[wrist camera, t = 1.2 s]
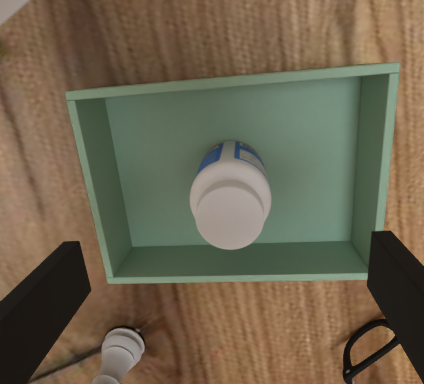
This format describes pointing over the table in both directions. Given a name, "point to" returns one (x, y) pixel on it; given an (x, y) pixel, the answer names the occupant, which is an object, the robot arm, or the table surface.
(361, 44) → the table surface
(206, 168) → the pill bottle
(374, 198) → the tote
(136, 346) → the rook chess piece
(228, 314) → the table surface
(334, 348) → the table surface
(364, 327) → the glasses
